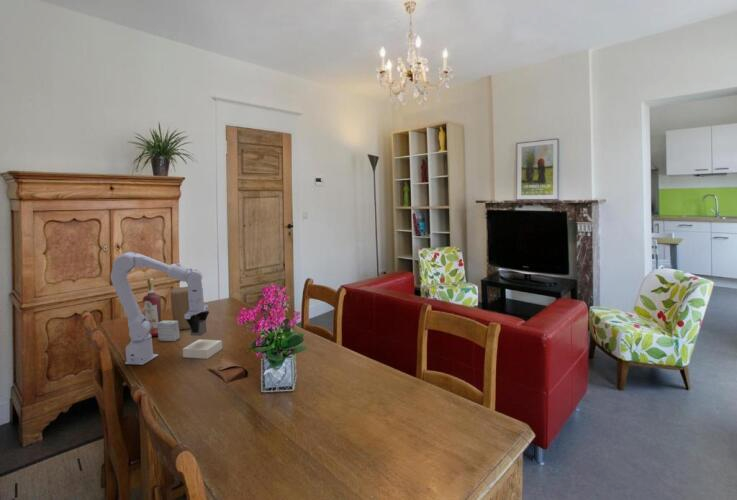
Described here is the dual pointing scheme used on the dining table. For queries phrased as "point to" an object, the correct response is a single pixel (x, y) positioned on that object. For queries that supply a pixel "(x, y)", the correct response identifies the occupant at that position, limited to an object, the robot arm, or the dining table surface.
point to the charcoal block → (200, 328)
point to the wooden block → (180, 306)
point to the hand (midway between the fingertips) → (198, 330)
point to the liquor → (152, 308)
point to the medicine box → (168, 330)
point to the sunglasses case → (228, 370)
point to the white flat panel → (202, 349)
